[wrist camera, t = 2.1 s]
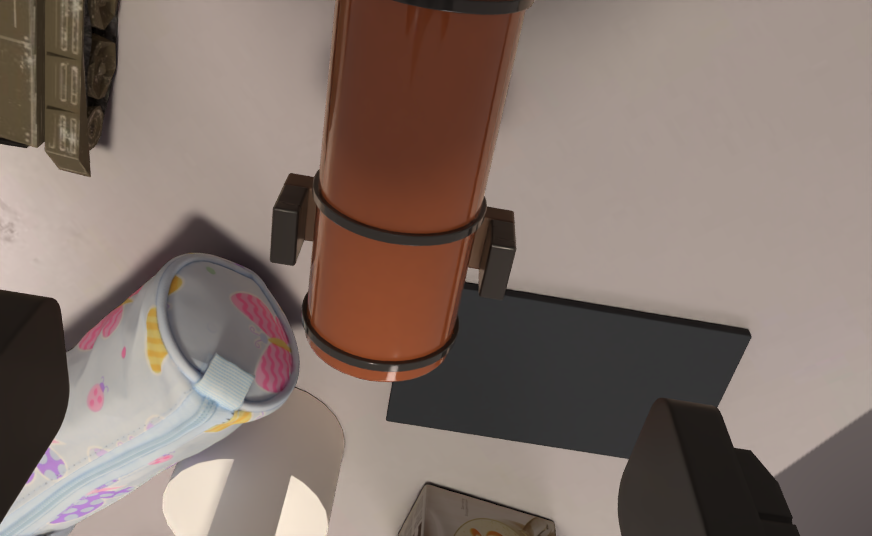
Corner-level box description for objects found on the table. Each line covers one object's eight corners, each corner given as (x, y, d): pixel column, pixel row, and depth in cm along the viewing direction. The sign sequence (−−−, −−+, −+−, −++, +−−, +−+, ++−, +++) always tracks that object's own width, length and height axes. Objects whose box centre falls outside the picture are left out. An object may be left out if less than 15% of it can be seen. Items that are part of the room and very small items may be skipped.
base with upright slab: (211, 362, 45) (132, 537, 35) (363, 407, 46) (329, 589, 36) (184, 465, 49) (107, 647, 39) (322, 503, 51) (282, 688, 41)
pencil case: (93, 491, 50) (2, 618, 41) (-15, 397, 47) (-136, 512, 39) (334, 330, 42) (281, 446, 34) (219, 207, 39) (131, 300, 31)
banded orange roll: (578, -249, 18) (606, -252, 14) (457, 301, 27) (452, 398, 23) (370, -290, 18) (338, -305, 14) (315, 278, 27) (284, 372, 23)
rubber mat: (749, 329, 42) (752, 336, 41) (685, 461, 47) (687, 468, 46) (411, 273, 41) (411, 279, 40) (386, 414, 46) (385, 421, 46)
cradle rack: (572, -207, 29) (629, -186, 18) (494, 141, 37) (499, 314, 25) (372, -247, 29) (299, -251, 17) (336, 113, 36) (268, 276, 25)
